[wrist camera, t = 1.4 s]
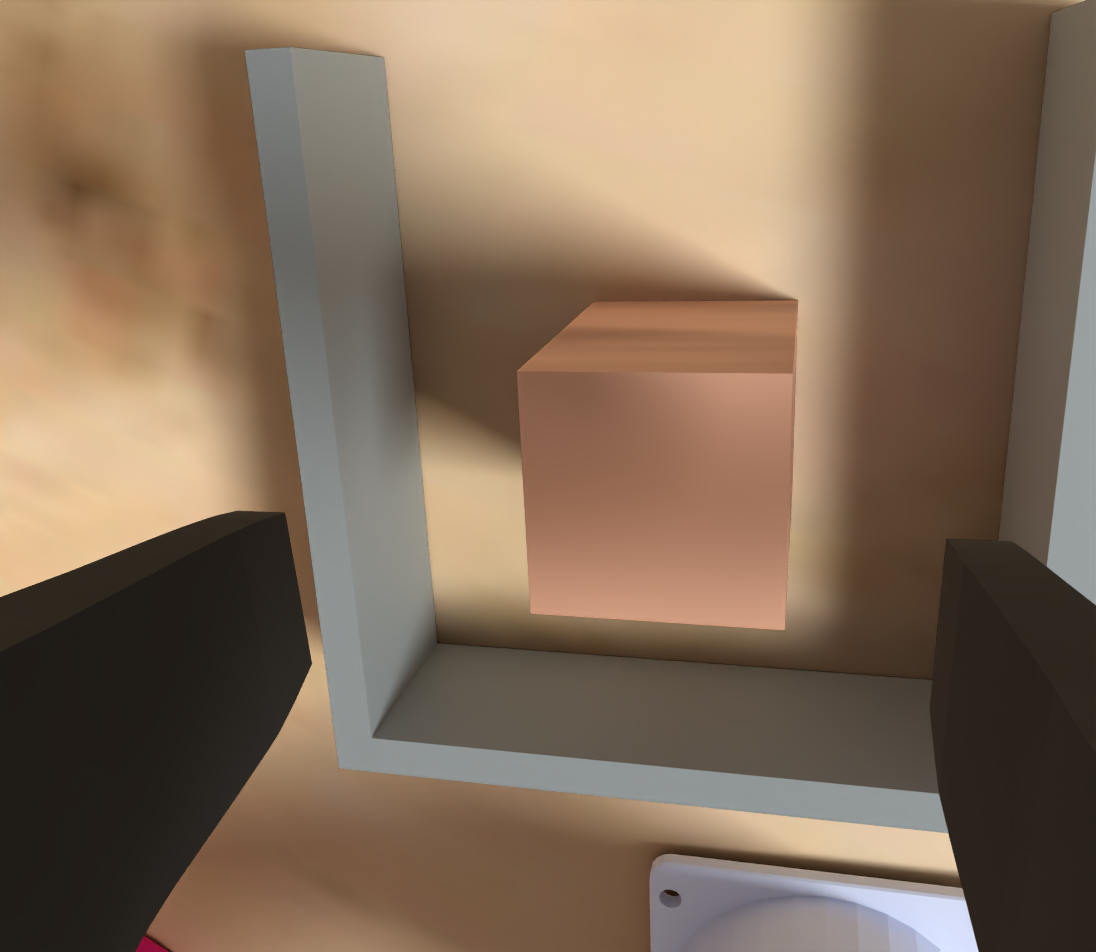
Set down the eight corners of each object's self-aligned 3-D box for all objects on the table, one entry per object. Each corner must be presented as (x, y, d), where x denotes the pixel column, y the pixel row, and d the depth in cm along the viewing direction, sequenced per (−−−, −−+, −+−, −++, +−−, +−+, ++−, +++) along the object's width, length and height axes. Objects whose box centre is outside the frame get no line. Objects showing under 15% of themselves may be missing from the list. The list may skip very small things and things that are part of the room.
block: (791, 495, 21) (784, 630, 16) (600, 488, 22) (530, 613, 17) (797, 299, 20) (792, 374, 15) (594, 301, 21) (516, 371, 16)
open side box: (1021, 720, 22) (1064, 845, 18) (408, 670, 25) (339, 768, 21) (1103, 9, 17) (1182, -17, 14) (346, 60, 21) (244, 50, 17)
